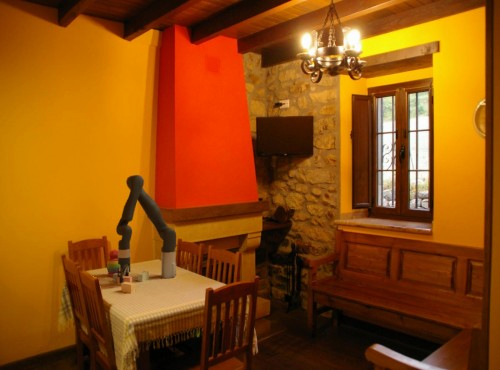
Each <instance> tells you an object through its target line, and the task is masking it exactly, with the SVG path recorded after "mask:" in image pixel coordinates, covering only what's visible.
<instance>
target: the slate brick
mask: <svg viewBox="0 0 500 370" xmlns="http://www.w3.org/2000/svg"><path fill="white" fill-rule="evenodd" d="M124 276H125V274H124ZM112 278H113V280H112V281H113V283H118V273H115V274H113V277H112Z"/></svg>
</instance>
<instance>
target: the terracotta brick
mask: <svg viewBox="0 0 500 370" xmlns="http://www.w3.org/2000/svg"><path fill="white" fill-rule="evenodd" d="M123 282H130V283H133V276H130V275H129V276H123ZM117 286H121V284H120V283H119V277H118V282H117Z"/></svg>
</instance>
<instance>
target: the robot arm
mask: <svg viewBox="0 0 500 370" xmlns="http://www.w3.org/2000/svg"><path fill="white" fill-rule="evenodd" d="M125 182H126V186H127V188H128V189H129V191H130V192H129V195H128V197H127V199H126V202H125V204H124V205H123V208H122V213H121V217H120V219H119V220H118V223H117V225H116V228H115V230H116V234H117V235H119V236H121V239H119V240H118V242H117V245H118V246H117V247H118V248H117V251H118V264H120V268H118V277H119V283H120V284H121V283H123V276H124V274H125V276H130V273H131V243H130V242H131V240H132V235H133V229H132V227H131V225H129V223H130V222H132V221H133V218H134V215H135V211H136V206H137V203H139V204H140V206H141V208H142V209H143V211H144V213H145V215H146V216H147V217H148V219H149V220H150V222H151V223H152V225H153V226H154V227H155V229H156V231H157V233H158V236H159V238H160V239H161V240H162V247H161V249H160V250H161V251H160V252H161V253H160V255H161V257H160V259H161V278H162V279H170V278H172V279H173V278H175V277H176V276H177V261H176V248H177V232H176V230H174V228H171V227H169V226H168V224H166V222H165V220H164V218H163V214H162V212H161V209H160V207H159V205H158V204H157V203H156V201H155V200H154V199H153V197H151V196H150V195H149V194H148V193H147V191H145V189H144V184H145V179H144V177H143V176H141V175H138V174H136V175H129V176H128V177H127V178H126V181H125Z"/></svg>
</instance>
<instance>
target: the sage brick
mask: <svg viewBox="0 0 500 370" xmlns="http://www.w3.org/2000/svg"><path fill="white" fill-rule="evenodd" d="M149 279H150V272H149V271H145V270H144V271H141V272H139V273H138V274H137V282H140V283H143V282H145V281H147V280H149Z"/></svg>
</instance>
